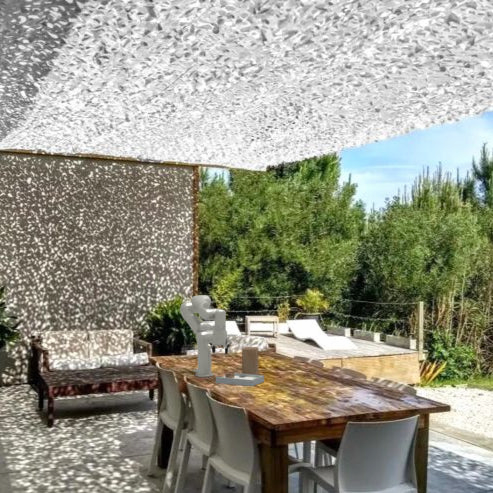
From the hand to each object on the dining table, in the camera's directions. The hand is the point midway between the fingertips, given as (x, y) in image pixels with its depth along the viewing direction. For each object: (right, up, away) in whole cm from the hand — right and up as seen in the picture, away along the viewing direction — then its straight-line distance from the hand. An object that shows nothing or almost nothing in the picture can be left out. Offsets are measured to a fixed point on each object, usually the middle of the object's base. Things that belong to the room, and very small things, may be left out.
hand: (220, 353), depth 429 cm
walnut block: (+7, -16, -4) cm, 18 cm away
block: (+21, -19, +15) cm, 32 cm away
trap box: (+14, -18, -7) cm, 24 cm away
